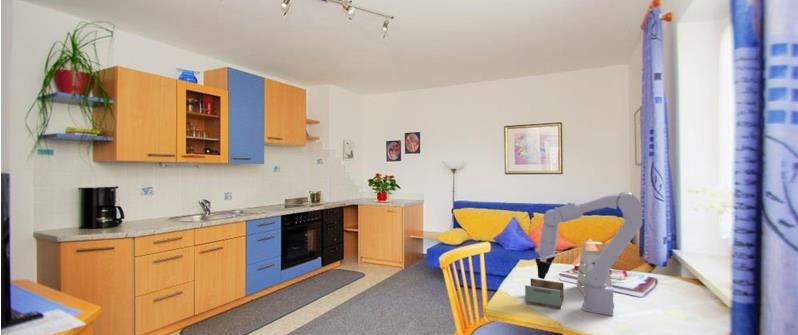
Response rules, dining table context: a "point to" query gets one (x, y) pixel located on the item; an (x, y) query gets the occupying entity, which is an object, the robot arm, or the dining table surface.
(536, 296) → the panel
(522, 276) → the dining table surface
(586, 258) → the grater
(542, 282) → the cart bed
